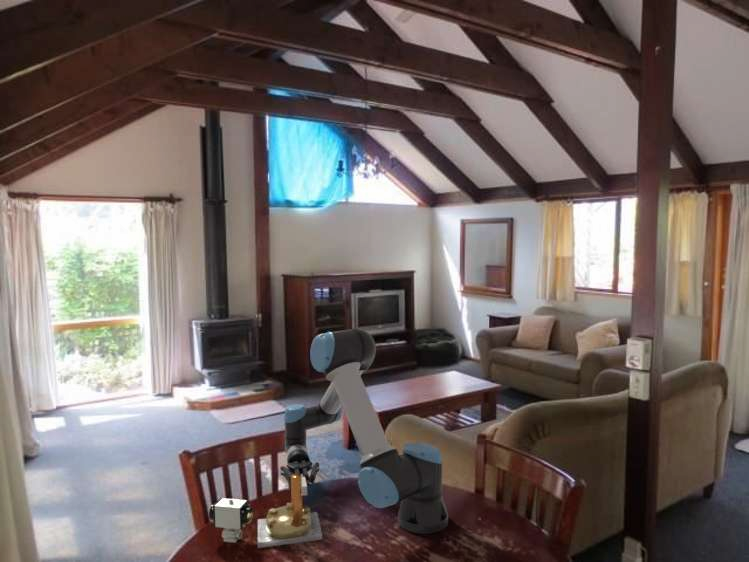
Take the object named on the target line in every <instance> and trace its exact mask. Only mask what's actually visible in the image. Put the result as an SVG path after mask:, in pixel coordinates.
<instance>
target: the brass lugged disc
mask: <svg viewBox="0 0 749 562" xmlns="http://www.w3.org/2000/svg"><path fill="white" fill-rule="evenodd" d="M302 477H303V475H302V474H293V473H292V476H291V485H290V489H291V491H290V493H291V494H290V495H291V497H290V498H291V502H287V503H286V505H283V506H279V507H277V508H273V507H272V508H270V509H269V510H268V512H267V513H268V514H267V515H266V529H267V532H268V533H269V534H270V535H271V536H274V537H277V538H292V537H297V536H300V535H302V534H304V533H305V532H307V531H308V530H309V529H310V527H311V513H312V512H311V510H310V509H311V507H309V506H308V505H305V506H303V496H302Z"/></svg>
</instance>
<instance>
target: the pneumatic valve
mask: <svg viewBox="0 0 749 562" xmlns="http://www.w3.org/2000/svg"><path fill="white" fill-rule="evenodd" d="M254 513H255V511H254V508H253V507H252V506H251V504H250V501H249V500H246V499H240V498H237V499H236V498H224V497H220V498H219V499H218V500H216V502H215V503H213V504H212V505H210V508H209V511H208V518H209V520H210V521H212V524H213V528H222V529H223V530H222V533H221V537H222V539H223V542H224V543H231V544H235V543H237V542H238V540H239V541H240V540H241V539H242V536H243V531H242V530H244V529H245V528H246V526H247V525H248V524H251V523H252V521H253V519H254Z"/></svg>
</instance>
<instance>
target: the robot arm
mask: <svg viewBox="0 0 749 562" xmlns="http://www.w3.org/2000/svg"><path fill="white" fill-rule="evenodd" d="M309 351H310V352H309V354H310V355H309V356H310V362H311V365H312V367H313V369H314V370H316V371H317V372H319V373H323V375H324V377H325V380H327V381H329V382H330V385H329V386H328V388H327V389H326V391H325V393H324V395H323V397H322V398H321V400H320V402H318V404H317V405H314V406H310V407H306V406H305V405H303V404H300V403H295V404H290V405H288V406H286V407H285V409H284V430H285V431H284V433H285V435H284V436H285V437H284V443H285V444H284V451H285V456H286V462H287V463H286V466H284V465H283V466H282V465H281V466H280V475H281V476H282V477H284V479H285V480H286V481H287V482H288V484H289V485H290V486H291V476H292V475H293V474H301V475H302V497H303V496H308V488H310V486H311V485H310V484H314V483H315V481H316V478H317V474H318V473H319V471H320V462H315V463H313V462H312V461H311V460H310V456H309V452H308V449H307V447H308V446H307V431H308V430H311V429H314V428H318V427H322V426H326V425H331V424H333V423H335V422H338V421H340V419H341V418H342V409H343V411H344V414H345V417H346V419H347V422H348V424H349V428H350V429H351V432H352V434H353V437H354V439H355V442H356V445H357V447H358V450H359V452H360V455H361V459H360V462H359V467H360V471H359V473H358V475H357V479H358V481H357V484H358V485H357V486H358V488H359V490H360V492H361V495H362V496H363V498H364V499H365V501H366V502H367V503H369V504H370V505H372V506H373V507H374V508H378V509H383V508H387V507H391V506H393V505H396V504H397V503H399V502H400V506H399V509H398V512H397V519H398V520H397V522H398V524H399V526H400V527H401V528H402V529H404V530H406V531H407V532H410V533H414V534H420V535H430V534H431V535H432V534H435V532H436V533H439V532H441V531H443V530H444V529H446V527H447V526H448V525H449V513H448V510H447V507H446V503H445V501H444V498H443V461H442V452H441V450H440V448H438V447H436V446H435V445H432V444H428V443H422V442H409V443H405V444H404V445H403V447H402V449H401V450H402V454H399V452H398V449H397V447H395V446H393V445H391V444H390V443H389V441H388V438H387V437H386V434H385V431H384V428H383V427H382V424H381V422H380V420H379V417H378V415H377V412H376V410H375V407H374V406H373V403H372V400H371V398H370V396H369V394H368V390H367V389H366V385H365V383H364V381H363V378H362V377H361V375H362V374H363V372H364V371H367V370H369V368H370V367H371V366H372V364H373V362H374V360H375V357H376V353H377V346H376V342H375V340H374V338H373V336H372V335H371V334H370V333H369V332H368V331H366V330H364V329H361V328H351V329H344V330H336V331H327V332H325V333H320V334H317V335H316V336H315V337H314V338H313V340H312V343H311V345H310V350H309ZM341 408H342V409H341ZM308 472H310V474H309V473H308Z"/></svg>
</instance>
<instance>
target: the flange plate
mask: <svg viewBox="0 0 749 562" xmlns="http://www.w3.org/2000/svg"><path fill="white" fill-rule="evenodd" d="M320 540H323V533H322V528H321V523H320V519H319V514H318V512H317V511H314V512H311V527H310V529H309V530H308V531H307V532H305V533H304V534H302V535H300V536H297V537H292V538H277V537H274V536H271V535H270V534H269V533H268V532H267V529H266V518H258V519H257V549H262V548H263V549H264V548H268V547H276V546H282V545H289V544H290V545H292V544H299V543H306V542H311V541H320Z"/></svg>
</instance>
